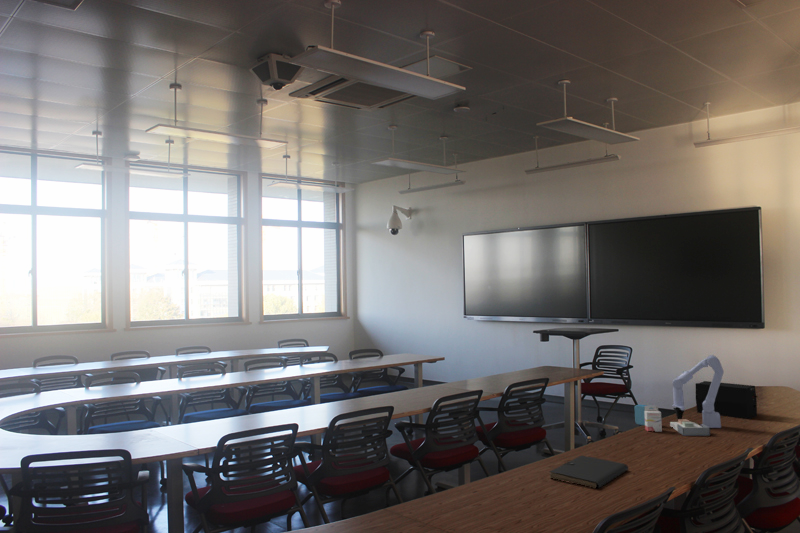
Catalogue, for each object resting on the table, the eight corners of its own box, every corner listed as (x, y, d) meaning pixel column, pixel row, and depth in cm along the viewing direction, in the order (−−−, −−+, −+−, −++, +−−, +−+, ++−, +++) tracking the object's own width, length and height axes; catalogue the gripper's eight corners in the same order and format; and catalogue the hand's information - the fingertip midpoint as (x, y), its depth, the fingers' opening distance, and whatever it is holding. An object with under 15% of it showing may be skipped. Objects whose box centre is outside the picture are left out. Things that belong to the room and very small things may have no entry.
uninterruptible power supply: (707, 409, 397) (705, 380, 398) (760, 416, 371) (758, 385, 372) (696, 412, 387) (694, 383, 388) (750, 420, 361) (748, 389, 362)
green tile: (690, 424, 344) (690, 421, 344) (693, 426, 339) (693, 423, 339) (682, 424, 344) (681, 421, 345) (685, 426, 340) (684, 423, 340)
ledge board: (693, 425, 351) (693, 421, 351) (702, 431, 337) (702, 427, 337) (670, 425, 353) (670, 421, 353) (678, 431, 339) (678, 427, 339)
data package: (656, 425, 355) (655, 406, 356) (653, 426, 353) (652, 407, 353) (638, 422, 365) (637, 404, 365) (635, 423, 362) (634, 405, 363)
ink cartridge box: (647, 431, 341) (646, 407, 342) (645, 429, 346) (643, 405, 346) (662, 431, 340) (660, 407, 341) (659, 429, 345) (658, 405, 346)
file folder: (580, 454, 287) (628, 463, 270) (581, 462, 287) (628, 472, 270) (548, 470, 263) (598, 482, 246) (549, 479, 263) (598, 491, 246)
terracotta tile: (686, 422, 350) (686, 419, 350) (689, 424, 345) (689, 421, 345) (678, 422, 351) (678, 419, 351) (681, 424, 346) (681, 421, 346)
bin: (704, 431, 336) (703, 424, 336) (710, 435, 327) (709, 427, 327) (677, 431, 338) (677, 424, 338) (683, 435, 329) (682, 427, 330)
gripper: (667, 395, 364) (669, 417, 363) (675, 400, 350) (677, 422, 349) (679, 395, 363) (680, 417, 362) (687, 400, 349) (689, 422, 348)
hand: (679, 419), depth 356 cm, fingers closed
